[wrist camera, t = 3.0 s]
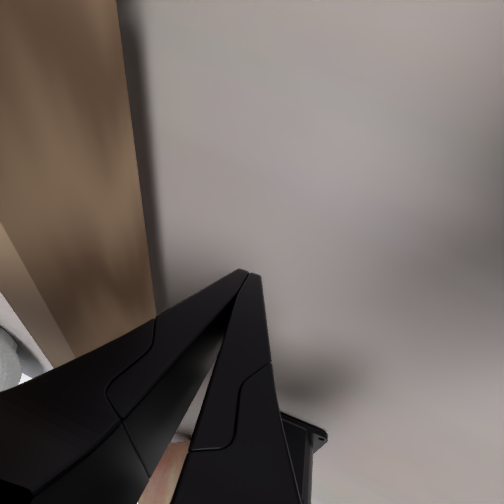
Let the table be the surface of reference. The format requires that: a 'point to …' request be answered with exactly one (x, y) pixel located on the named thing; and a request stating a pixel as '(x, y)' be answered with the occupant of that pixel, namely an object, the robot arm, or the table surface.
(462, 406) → the table surface
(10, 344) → the cereal bowl
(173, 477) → the apple
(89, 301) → the brown long flat bar
